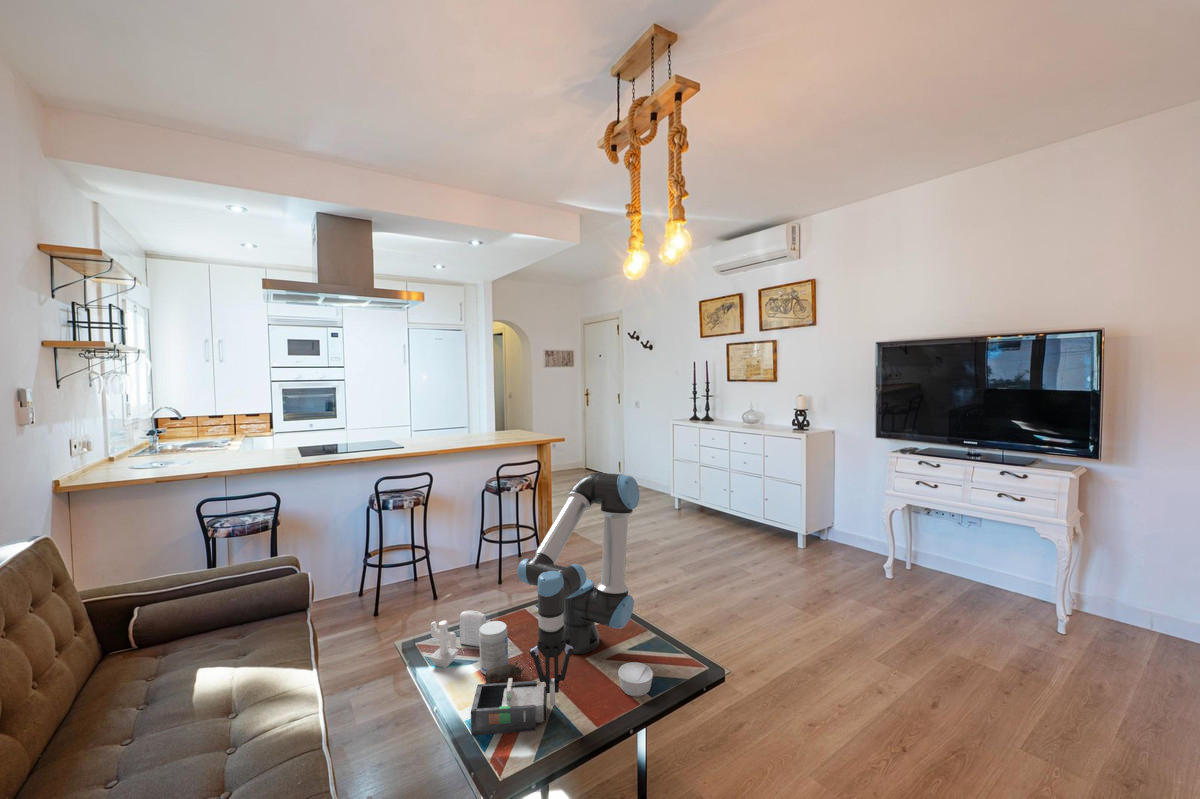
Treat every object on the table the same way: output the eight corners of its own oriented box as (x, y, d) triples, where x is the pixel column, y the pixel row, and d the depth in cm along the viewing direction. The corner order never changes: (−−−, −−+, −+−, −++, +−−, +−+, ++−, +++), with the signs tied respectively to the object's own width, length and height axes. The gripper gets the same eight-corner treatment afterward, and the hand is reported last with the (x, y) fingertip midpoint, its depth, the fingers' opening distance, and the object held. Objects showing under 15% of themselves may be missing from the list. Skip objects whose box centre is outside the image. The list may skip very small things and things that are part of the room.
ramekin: (657, 697, 154) (657, 680, 154) (622, 701, 152) (622, 685, 152) (647, 675, 165) (647, 660, 165) (615, 679, 163) (615, 663, 163)
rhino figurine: (526, 679, 163) (526, 662, 163) (485, 692, 157) (485, 674, 157) (523, 673, 167) (522, 656, 167) (482, 684, 161) (482, 667, 161)
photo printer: (488, 641, 187) (487, 610, 186) (482, 648, 182) (482, 615, 182) (464, 638, 189) (463, 607, 188) (458, 644, 185) (457, 612, 184)
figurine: (450, 671, 168) (448, 629, 168) (426, 667, 171) (425, 625, 170) (461, 659, 175) (460, 618, 174) (439, 655, 178) (437, 615, 177)
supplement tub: (512, 670, 168) (511, 629, 167) (486, 680, 163) (485, 638, 162) (501, 657, 176) (500, 617, 176) (476, 666, 171) (475, 625, 170)
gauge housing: (537, 702, 152) (536, 680, 152) (535, 731, 140) (534, 707, 140) (478, 706, 151) (477, 683, 150) (471, 736, 138) (470, 711, 138)
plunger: (547, 700, 151) (546, 672, 150) (546, 721, 142) (545, 691, 141) (505, 703, 150) (504, 675, 149) (501, 724, 141) (500, 694, 140)
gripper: (573, 618, 149) (574, 692, 151) (529, 620, 148) (531, 695, 150) (573, 631, 142) (574, 709, 143) (528, 633, 141) (529, 712, 142)
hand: (552, 702), depth 146 cm, fingers closed
